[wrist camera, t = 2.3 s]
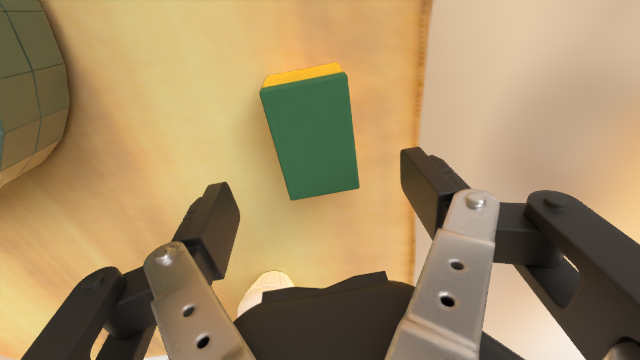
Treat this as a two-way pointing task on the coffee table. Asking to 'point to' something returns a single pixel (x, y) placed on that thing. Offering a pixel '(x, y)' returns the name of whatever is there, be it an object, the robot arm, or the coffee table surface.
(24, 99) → the bowl
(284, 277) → the muffin
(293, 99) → the sponge
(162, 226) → the coffee table surface
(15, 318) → the coffee table surface
